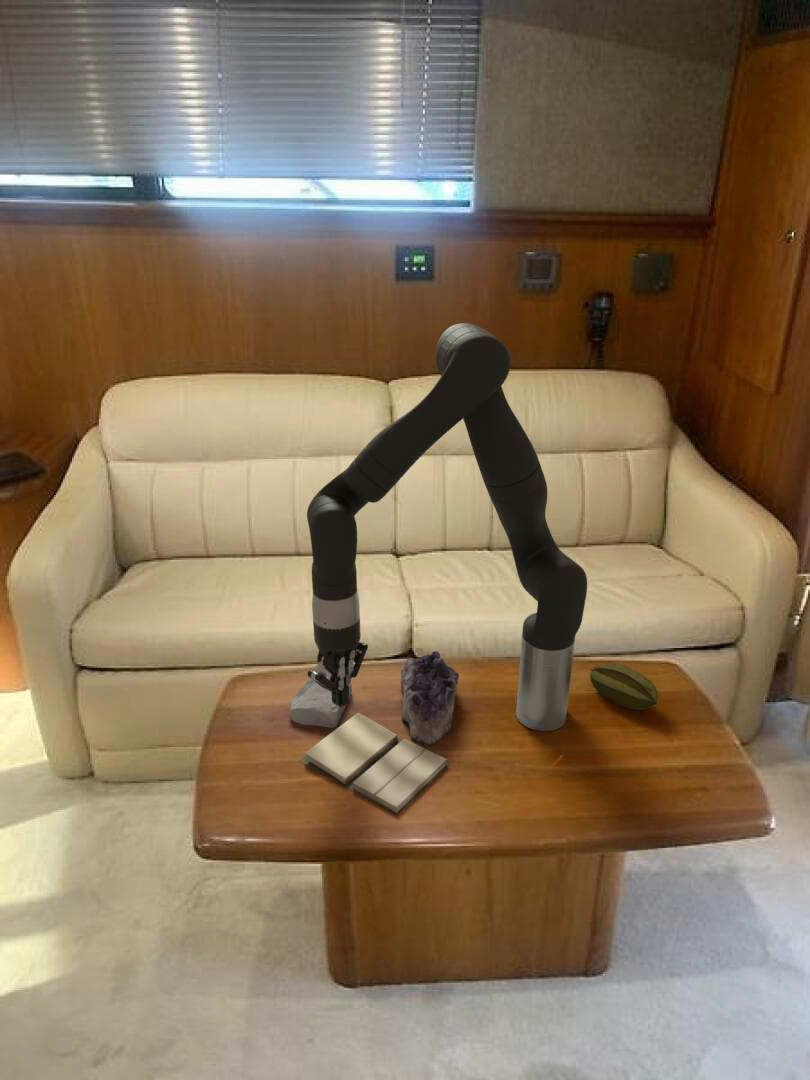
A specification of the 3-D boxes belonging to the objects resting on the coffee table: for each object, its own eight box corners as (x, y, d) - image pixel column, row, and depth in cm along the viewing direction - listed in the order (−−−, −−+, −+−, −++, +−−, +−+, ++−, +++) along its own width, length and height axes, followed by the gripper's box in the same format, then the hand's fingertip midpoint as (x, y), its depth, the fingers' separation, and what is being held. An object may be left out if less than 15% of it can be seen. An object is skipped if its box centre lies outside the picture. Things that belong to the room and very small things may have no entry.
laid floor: (355, 718, 146) (355, 711, 145) (449, 765, 134) (449, 757, 133) (298, 762, 135) (298, 754, 134) (396, 817, 123) (396, 809, 122)
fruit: (645, 684, 156) (650, 656, 153) (656, 722, 145) (661, 692, 142) (587, 680, 157) (590, 652, 154) (593, 718, 146) (597, 688, 144)
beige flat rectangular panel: (357, 717, 144) (358, 712, 144) (398, 740, 139) (398, 735, 139) (305, 758, 134) (305, 752, 133) (346, 784, 129) (346, 779, 129)
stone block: (288, 733, 145) (340, 731, 142) (282, 711, 143) (334, 708, 141) (308, 697, 156) (356, 694, 153) (303, 676, 154) (351, 673, 151)
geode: (467, 748, 139) (462, 703, 134) (402, 754, 139) (395, 710, 135) (459, 677, 157) (454, 636, 152) (402, 684, 157) (395, 642, 153)
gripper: (325, 640, 119) (331, 732, 126) (380, 605, 128) (382, 692, 136) (290, 625, 123) (297, 715, 130) (345, 592, 133) (349, 677, 140)
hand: (340, 703), depth 133 cm, fingers closed
